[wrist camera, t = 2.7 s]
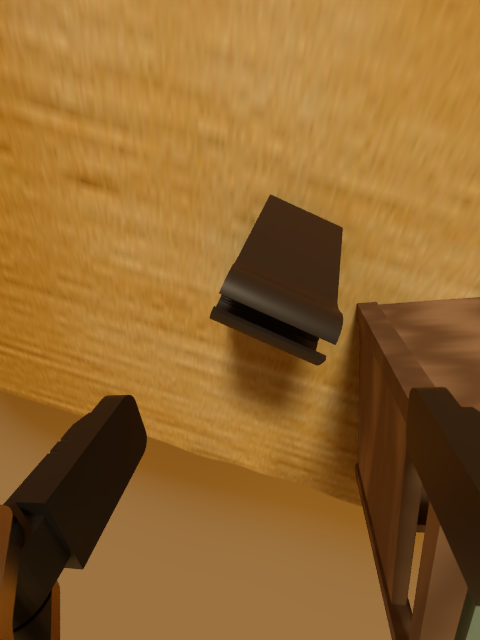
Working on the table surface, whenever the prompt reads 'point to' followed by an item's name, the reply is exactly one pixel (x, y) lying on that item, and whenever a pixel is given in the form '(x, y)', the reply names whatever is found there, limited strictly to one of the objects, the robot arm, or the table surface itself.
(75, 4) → the table surface
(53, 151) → the table surface
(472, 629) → the trapdoor
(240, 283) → the phone stand
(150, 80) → the table surface
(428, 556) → the wooden crate
